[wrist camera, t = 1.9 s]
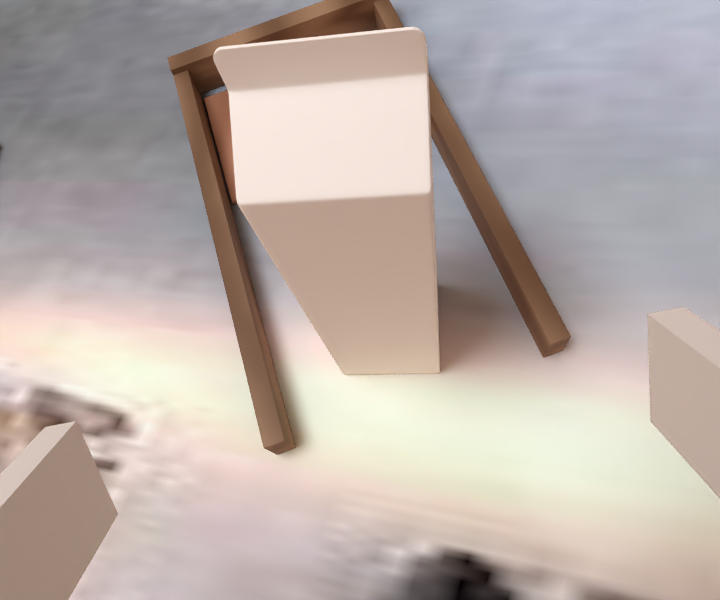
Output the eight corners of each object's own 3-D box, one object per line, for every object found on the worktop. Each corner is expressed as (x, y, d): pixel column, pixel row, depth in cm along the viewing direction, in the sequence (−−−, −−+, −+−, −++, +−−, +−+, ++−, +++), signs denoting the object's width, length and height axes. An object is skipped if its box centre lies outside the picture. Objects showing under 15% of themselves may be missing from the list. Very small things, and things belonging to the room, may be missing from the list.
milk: (440, 374, 33) (432, 121, 13) (341, 375, 34) (190, 139, 14) (437, 283, 35) (427, -50, 15) (345, 286, 36) (221, -25, 16)
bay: (384, 13, 46) (380, -21, 43) (562, 350, 32) (572, 332, 30) (184, 86, 46) (167, 57, 43) (276, 454, 32) (261, 446, 30)
